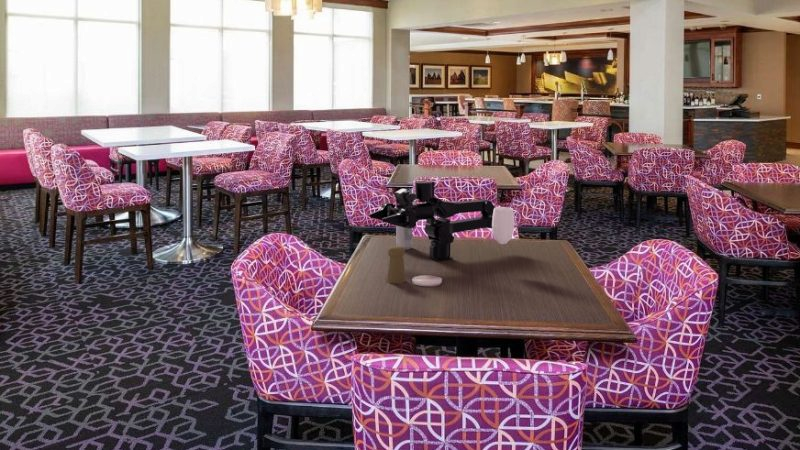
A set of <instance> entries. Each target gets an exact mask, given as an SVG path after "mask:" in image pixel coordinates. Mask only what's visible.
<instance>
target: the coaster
mask: <svg viewBox="0 0 800 450" xmlns="http://www.w3.org/2000/svg"><path fill="white" fill-rule="evenodd" d="M442 280H443V278H441V277H439V276H436V275H425V274H423V275H418V276H417V275H416V276H413V277H412V282H411V283H412V284H413V285H415V286H419V287H437V286H439V285H440V286H441V284H442V283H443V281H442Z"/></svg>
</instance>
